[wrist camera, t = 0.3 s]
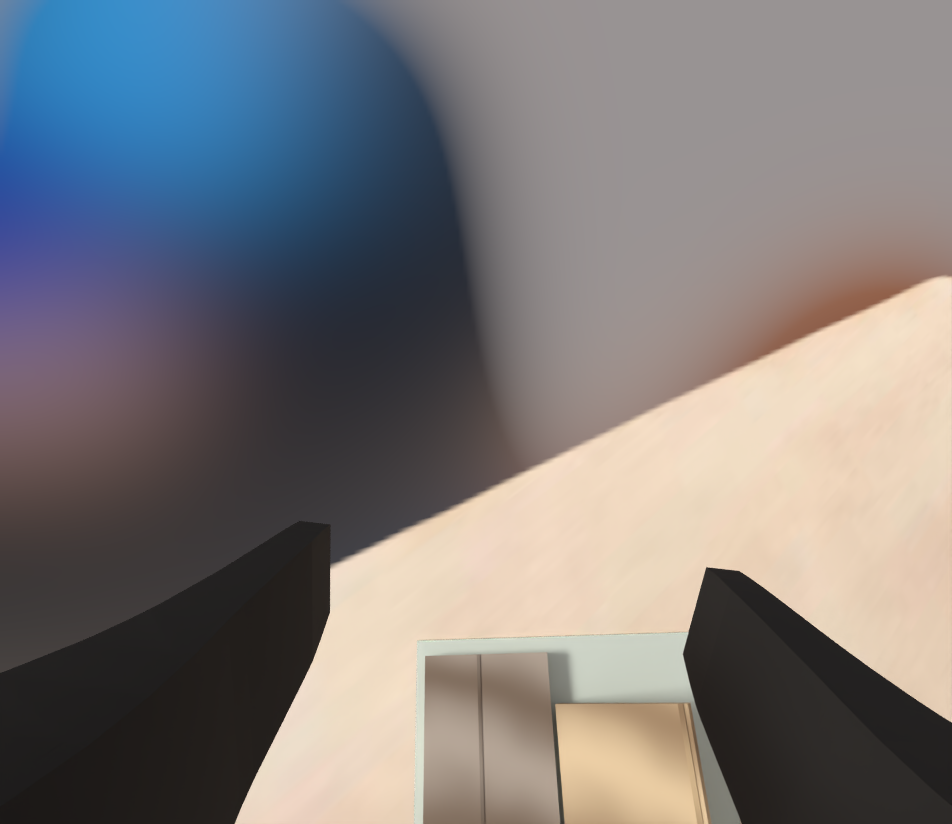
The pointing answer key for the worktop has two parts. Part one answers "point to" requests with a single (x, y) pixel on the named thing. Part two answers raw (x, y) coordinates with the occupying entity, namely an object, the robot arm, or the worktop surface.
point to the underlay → (593, 690)
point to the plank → (630, 764)
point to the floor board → (489, 740)
